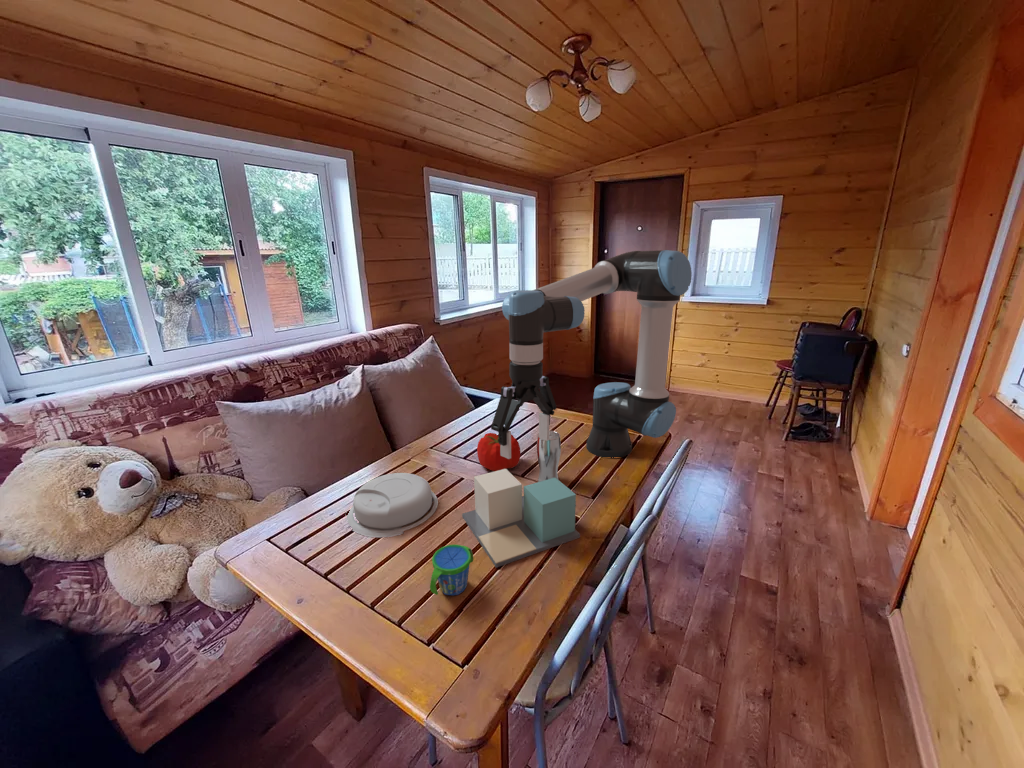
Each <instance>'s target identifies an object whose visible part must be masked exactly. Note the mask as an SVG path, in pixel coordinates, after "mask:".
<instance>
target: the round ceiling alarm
mask: <svg viewBox="0 0 1024 768" xmlns="http://www.w3.org/2000/svg"><path fill="white" fill-rule="evenodd" d="M352 504H353V507H352V508H351V509H350V511H349V513H348V515H347V520H348V521H347V522H348V523H349V525H350V526H351V527H352V529H353V530H351V531H352V532H354V533H356V534H358V535H359V536H363V535H364V537H368V538H369V537H370V538H378V539H379V538H390V537H396V536H400V535H402V534H405V532H404V531H408V530H410V529H413V528H415V527H418V526H419V525H421V524H423V523H425V522H426V521H427V520H428V519H429V518H431V517H432V515H434V514H435V512H436V511H437V508H438V506H439V499H438V497H437V496H436V494H435V493H434V491H432V488H431V485H430V483H429V482H428V481H427V480H426V479H425V478H424V477H422V476H420V475H418V474H415V473H408V472H393V473H388V474H383V475H380V476H377V477H374V478H373V479H371V480H370V479H369V481H367V482H365V483H364V484H363V485H362V486H360V488H359V489H358V490H357V491H356V493H355V494H354V496H353V503H352ZM430 509H431V510H430ZM429 510H430V511H429ZM428 511H429V512H428ZM353 513H355V517H356V519H357V520H358V521H359V523H357V521H355V520H354V517H353ZM426 513H428V514H427V515H425V514H426ZM424 515H425V516H424ZM423 516H424V517H423ZM422 517H423V518H422ZM421 518H422V519H421ZM419 519H420V520H419ZM416 521H417V522H416ZM414 522H415V523H414Z"/></svg>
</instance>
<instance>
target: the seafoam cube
mask: <svg viewBox="0 0 1024 768" xmlns="http://www.w3.org/2000/svg"><path fill="white" fill-rule="evenodd" d="M523 496H524V522H525V523H526V524H527V526H528V527H529V528H530V529H531V530H532V531H533V532H534V533H535V535H536V536H537V537H538V538H539V539H540V540H541V541H542V542H545V541H548V540H551V539H554V538H556V537H559V536H562V535H565V534H568V533H571V532H573V531H575V530H576V507H577V506H576V503H577V501H576V499H577V494H576V493H575V492H573V491H572V490H571V489H570V488H569V487H567V485H565V484H564V483H562V481H560V480H559V478H558V479H557V478H551V479H548V480H544V481H541V482H538V481H537V482H534V483H531V484H528V485H527V484H526V485H523Z"/></svg>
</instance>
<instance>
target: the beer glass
mask: <svg viewBox="0 0 1024 768" xmlns="http://www.w3.org/2000/svg"><path fill="white" fill-rule="evenodd" d="M536 439H537V441H536V457H537V461H538V468H539V473H538V478H537V482H541V481H544V480H548V479H551V478H557V479H558V480H559V475H558V468H559V464H560V460H561V459H560V458H561V454H562V453H561V451H562V450H561V449H562V447H561V446H562V444H561V434H560V433H559V432H558V431H554V430H549V440H548V441H546V440H544V439H541V438H539V432H538V433H537V438H536Z"/></svg>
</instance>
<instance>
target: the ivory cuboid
mask: <svg viewBox="0 0 1024 768" xmlns="http://www.w3.org/2000/svg"><path fill="white" fill-rule="evenodd" d="M473 484H474V506H475V509H474V510H475V511H476V512H477V514H478V515H479V516H480V518H481V519H482V520H483V522H484V523H485V525H486V526H487V527H488V529H489V530H491V529H494V528H497V527H500V526H503V525H506V524H510V523H513V522H516V521H519V520H522V496H523V484H522V483H521V481H519V480H518V479H517V478H516V477H515V476H514V475H513V474H512V473H511V472H510V471H509V469H502V470H498V471H490V472H488V473H483V474H479V475H476V476H475V475H474V476H473Z"/></svg>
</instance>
